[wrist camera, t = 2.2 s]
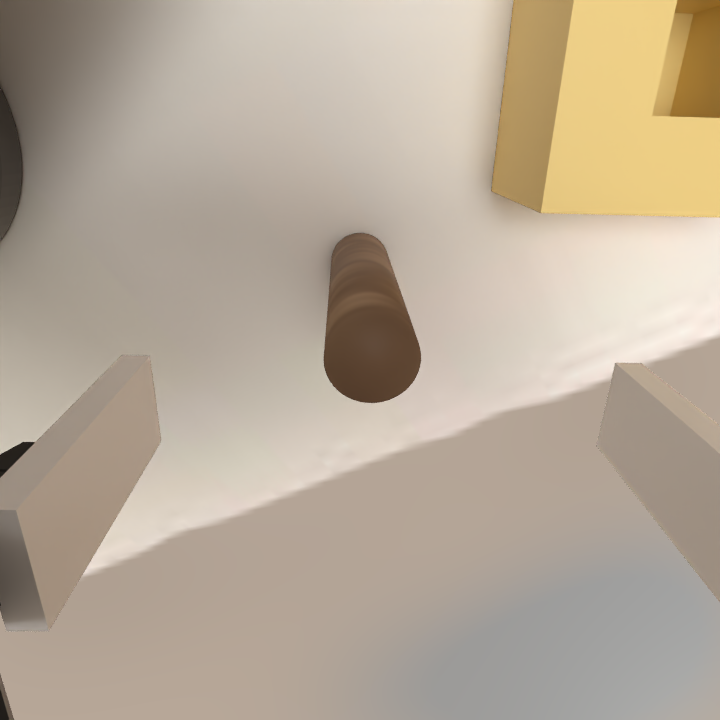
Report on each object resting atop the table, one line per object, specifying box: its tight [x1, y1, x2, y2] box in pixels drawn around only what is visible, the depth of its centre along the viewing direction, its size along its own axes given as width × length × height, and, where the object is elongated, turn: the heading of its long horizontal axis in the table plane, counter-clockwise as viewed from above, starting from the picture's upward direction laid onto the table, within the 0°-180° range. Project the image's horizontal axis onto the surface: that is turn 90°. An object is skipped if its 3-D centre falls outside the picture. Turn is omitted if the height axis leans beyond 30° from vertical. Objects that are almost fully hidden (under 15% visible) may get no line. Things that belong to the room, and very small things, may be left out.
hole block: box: [491, 0, 720, 217], centre depth 24 cm, size 12×12×8 cm
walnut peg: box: [324, 233, 421, 403], centre depth 24 cm, size 3×3×14 cm
